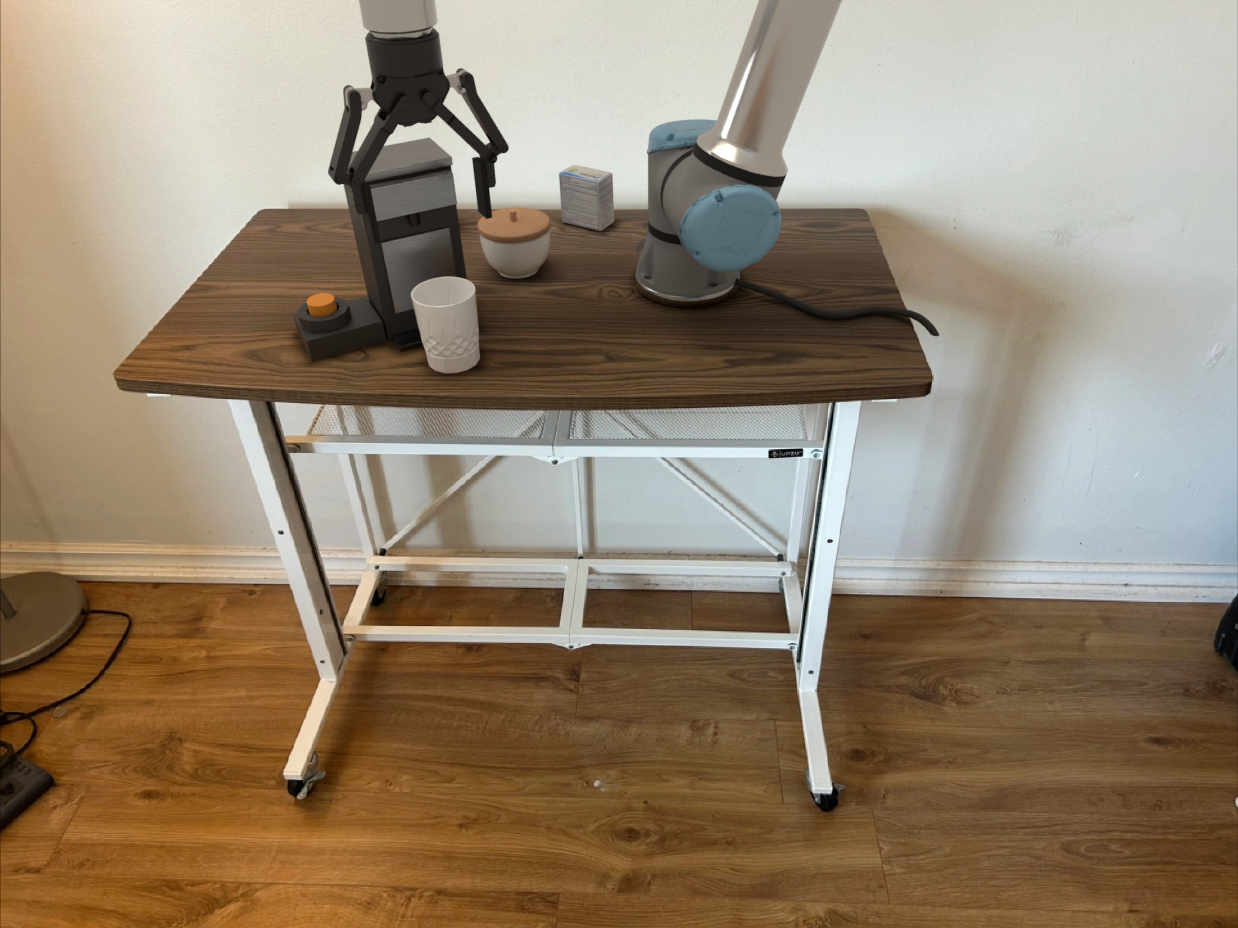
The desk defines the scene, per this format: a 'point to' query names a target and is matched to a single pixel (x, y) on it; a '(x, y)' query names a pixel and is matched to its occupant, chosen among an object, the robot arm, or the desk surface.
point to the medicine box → (587, 197)
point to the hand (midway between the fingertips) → (431, 226)
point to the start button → (321, 304)
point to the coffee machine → (408, 232)
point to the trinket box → (515, 240)
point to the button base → (339, 328)
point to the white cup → (448, 323)
